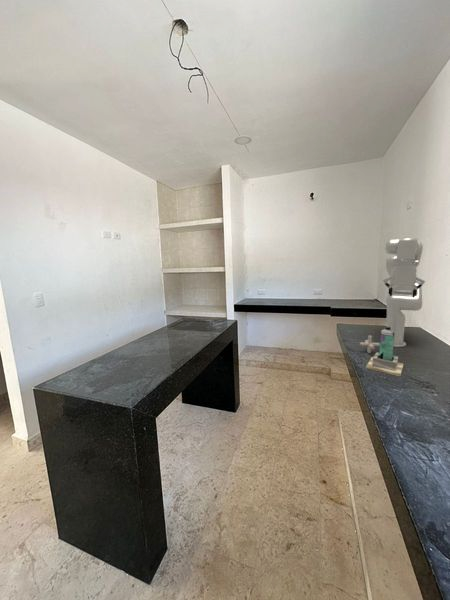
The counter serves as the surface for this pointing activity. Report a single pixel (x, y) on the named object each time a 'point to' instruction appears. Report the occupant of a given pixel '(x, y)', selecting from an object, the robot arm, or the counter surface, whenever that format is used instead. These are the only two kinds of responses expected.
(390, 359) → the spray can
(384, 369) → the collar block
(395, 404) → the counter surface
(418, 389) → the counter surface
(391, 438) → the counter surface
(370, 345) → the pipe connector
